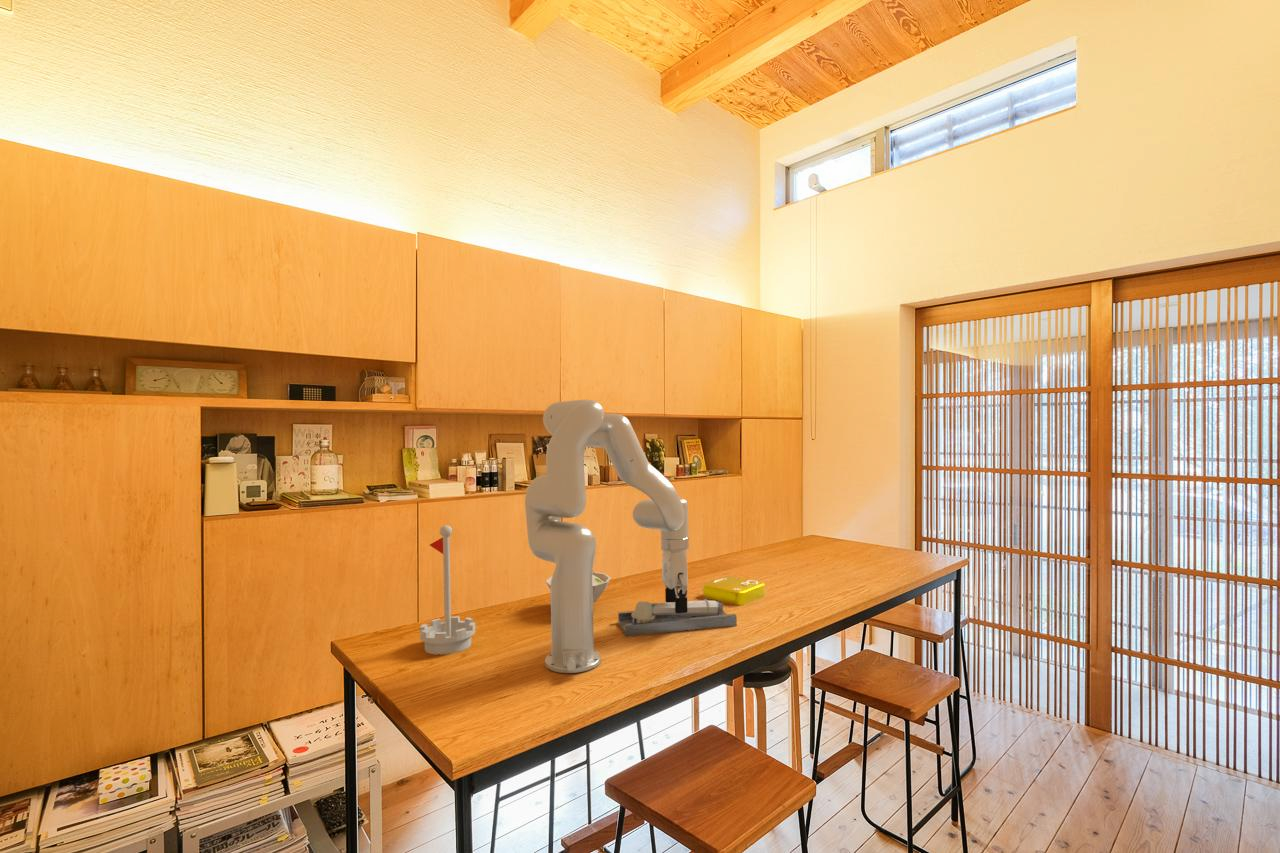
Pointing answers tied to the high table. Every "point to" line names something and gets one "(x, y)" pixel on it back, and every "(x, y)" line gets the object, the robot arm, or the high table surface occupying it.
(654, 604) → the grey elongated piece
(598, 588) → the bowl
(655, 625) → the pipe channel
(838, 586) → the high table surface
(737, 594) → the element tile
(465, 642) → the flag stand
